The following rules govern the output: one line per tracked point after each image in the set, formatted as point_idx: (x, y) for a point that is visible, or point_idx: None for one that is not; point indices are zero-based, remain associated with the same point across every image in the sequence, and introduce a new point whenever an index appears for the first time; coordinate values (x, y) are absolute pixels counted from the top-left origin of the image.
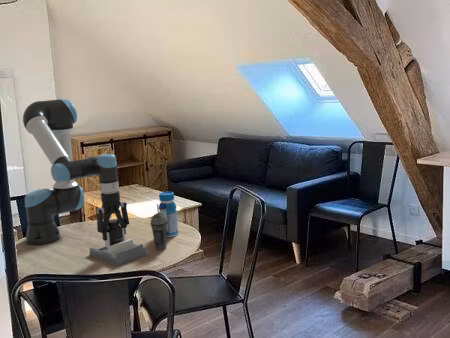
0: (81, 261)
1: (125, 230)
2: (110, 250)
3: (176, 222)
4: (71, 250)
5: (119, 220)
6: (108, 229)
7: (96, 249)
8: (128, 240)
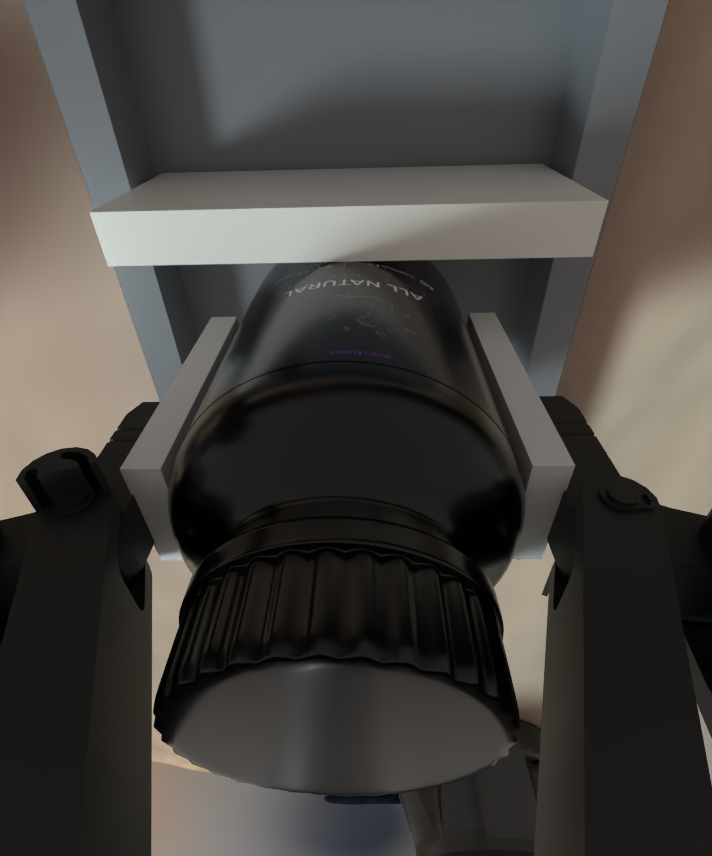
0: (657, 410)
1: (113, 442)
2: (575, 185)
3: None
4: (505, 603)
5: (125, 694)
6: (508, 547)
7: None
8: (180, 224)
